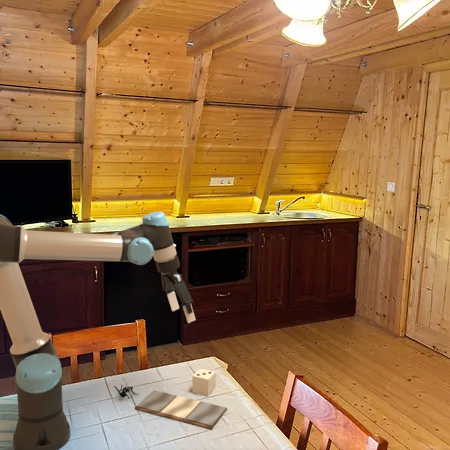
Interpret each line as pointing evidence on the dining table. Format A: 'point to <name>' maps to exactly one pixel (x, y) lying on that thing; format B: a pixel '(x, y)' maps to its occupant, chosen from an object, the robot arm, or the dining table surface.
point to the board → (182, 409)
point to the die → (203, 382)
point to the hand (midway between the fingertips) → (183, 315)
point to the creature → (124, 391)
